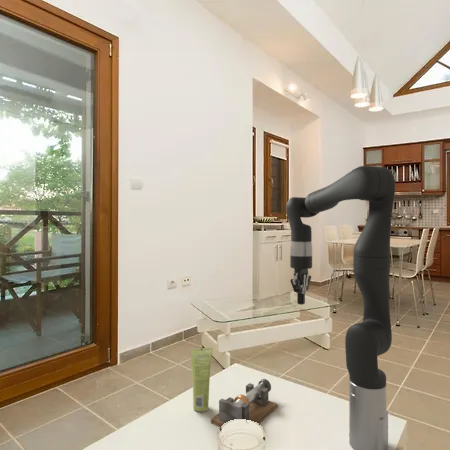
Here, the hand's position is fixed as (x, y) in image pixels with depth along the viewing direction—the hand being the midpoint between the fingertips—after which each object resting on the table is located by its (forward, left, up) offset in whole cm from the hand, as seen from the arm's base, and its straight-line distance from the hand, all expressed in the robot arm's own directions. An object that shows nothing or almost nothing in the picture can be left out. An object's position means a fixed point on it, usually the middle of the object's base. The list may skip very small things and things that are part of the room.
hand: (301, 303), depth 123 cm
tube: (+23, +27, -32) cm, 48 cm away
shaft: (+9, +19, -30) cm, 37 cm away
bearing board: (+9, +22, -32) cm, 40 cm away
